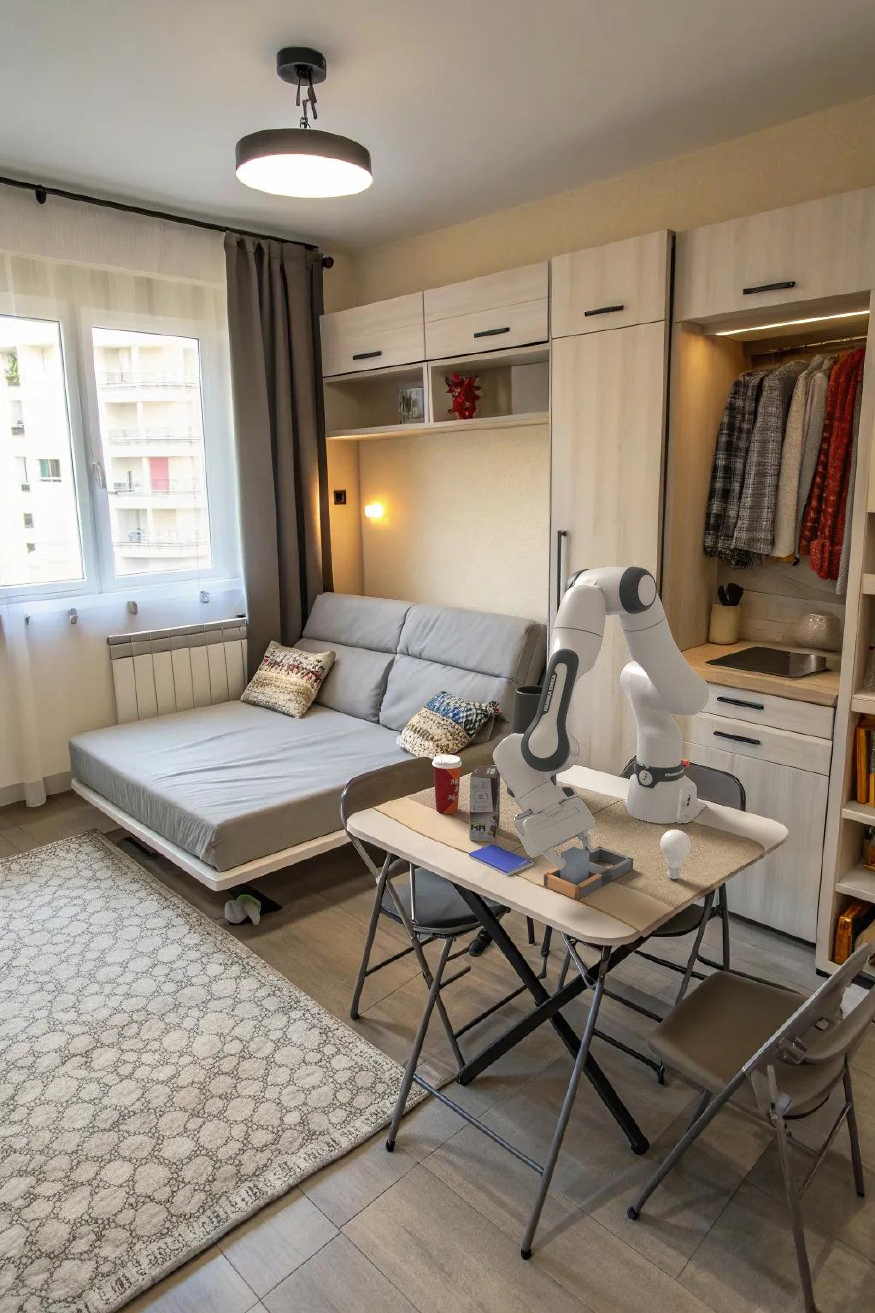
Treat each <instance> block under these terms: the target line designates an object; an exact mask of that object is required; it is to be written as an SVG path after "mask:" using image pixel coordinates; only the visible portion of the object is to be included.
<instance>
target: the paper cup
mask: <svg viewBox="0 0 875 1313" xmlns="http://www.w3.org/2000/svg"><path fill="white" fill-rule="evenodd" d="M431 764H432V766H433V780H434V781H433V782H434V797H435V800H434V801H435V810H436V812H437V813H439V814H441V813H443V815H453V814H455V813H457V812H458V809H459V797H460V785H461V784H460V781H461V767H462V765H463V763H462V761H461V758H460V756H457V755H453V754H441V755H437V756H435V757H434V758H433V760H432V763H431Z"/></svg>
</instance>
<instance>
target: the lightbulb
mask: <svg viewBox="0 0 875 1313" xmlns="http://www.w3.org/2000/svg"><path fill="white" fill-rule="evenodd" d="M659 844H660V846H659V847H660V850H661V852H662V854H663V855H664V858H665V862H666V865H667V870H666V871H667V873H666V876H667V877H668V878H670V879H671V878H672V880H678V879H680V878H681V868H682V865H683V862H684V860H685V859H686V858H687V857H688V855H689V854H690V852H691V849H692V841H691V839H690V837H689V836H688V834H687V833H685V832H684V831H682V830H680V829H669V830H667V831H666V832H664V833H663V834H662V836H661V838H660V841H659Z"/></svg>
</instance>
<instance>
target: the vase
mask: <svg viewBox="0 0 875 1313" xmlns="http://www.w3.org/2000/svg"><path fill="white" fill-rule="evenodd" d="M542 689H543V685H529V684H528V685H522V686H518V687H515V688H514V694H513V706H512V718H511V728H510V730H511V731H510V734H513V733H517V734H524V733H525V732H526V730H527V729H528V727H529V726H530V724H531V723H532V721H533V720H534V718H535V715H536V713H537V709H538V705H539V701H540V697H541V693H542ZM550 780H551V781H552V783H553V784H554V786H556V785H557V786H558V784H557V781H558V780H557V774H556V775H553V776H551V777H550ZM506 793H507V794H508V795H510V797H513V798H515V796H514V794H513V792H512V791H511V790H510V789H509V788H508V787H507V786H506Z"/></svg>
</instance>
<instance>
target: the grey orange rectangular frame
mask: <svg viewBox="0 0 875 1313" xmlns="http://www.w3.org/2000/svg"><path fill="white" fill-rule="evenodd" d="M593 849H594V852H593V853H592V854H590V855H589V873H588V879H587V880H585V881H583V882H581V883H580V884H578V886H577V885H575V884H572V883H570V882H567V881H565V880H563V879H560V870H558V869H557V867H556V866H555V867H554V868H551V869H549V870H548V871H546V872H545V873H544V874H543V886H545V887H547V888H549V889H551V890H553V891H556V892H558V893H560V894H563V895H565V896H567V897H570V898H572V899H574V900H576V901H580V900H581V899H584V898H585V897H587V896H589V895H591V894H593V893H594V892H596V891H597V890H599V889H601V888H603V887H604V886H606V885H608V884H610V883H612V882H613V881H615V880H617V879H619V878H620V877H622V876H624V875H625V873H626V874H627V873H630V872H631V871H632V870H634V869H633V868H634V858H633V857H630V856H627V855H624V854H622V853H619V852H616V851H613V850H610V849H608V848H605V847H602V846H596V847H595V848H593ZM599 860H601V861H603V862H607V863H609V864H612V865H613V866H611V867H609V868H607V867H605V866H602V865H600V864H598V863H595V862H597V861H599ZM586 895H587V896H586ZM583 897H584V898H583Z"/></svg>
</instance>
